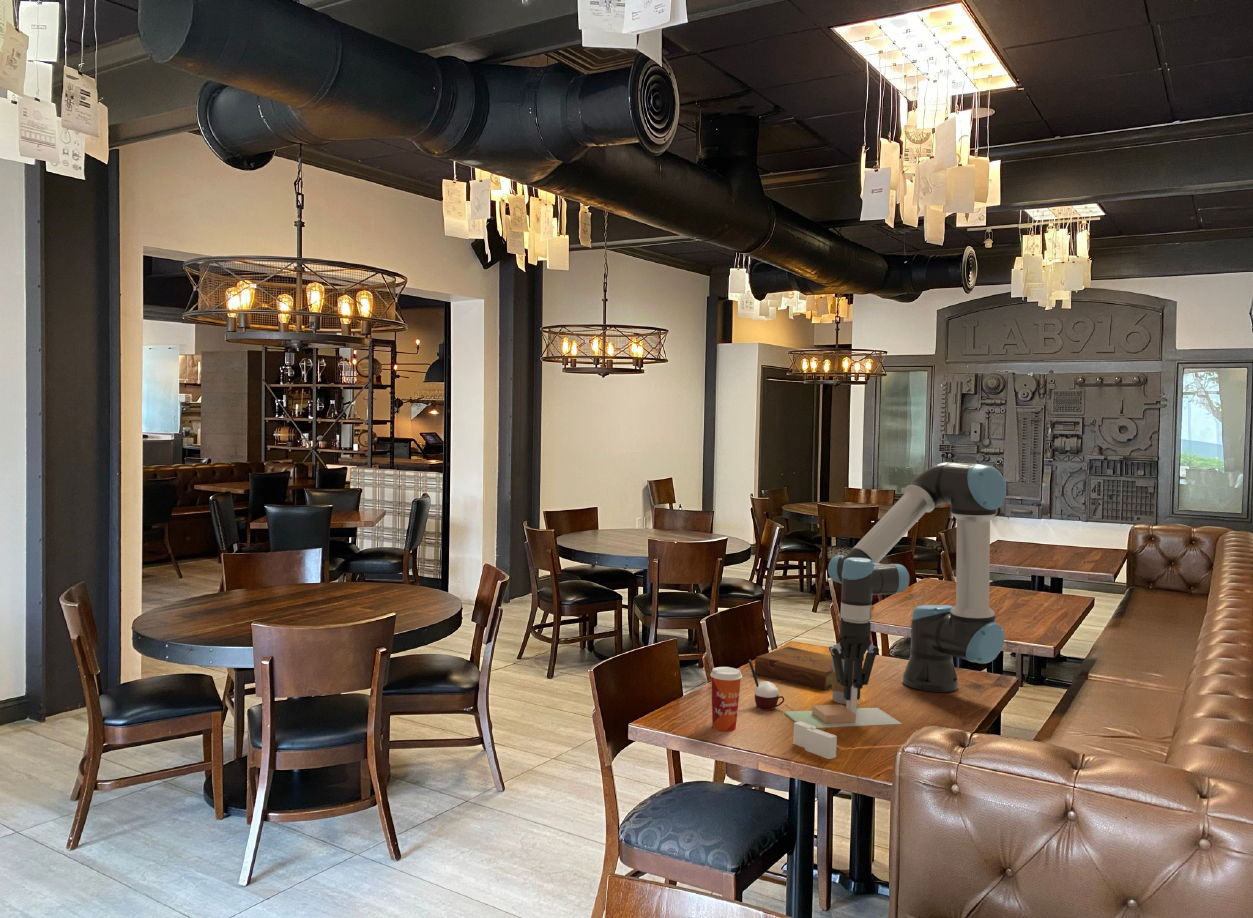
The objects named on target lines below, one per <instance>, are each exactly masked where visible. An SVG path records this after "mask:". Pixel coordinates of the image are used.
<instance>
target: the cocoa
mask: <svg viewBox="0 0 1253 918" xmlns="http://www.w3.org/2000/svg"><path fill="white" fill-rule="evenodd" d="M748 663H749V668H750V671H751V673H752V676H753V680H754V683H755V687H754V702H755V705H756V706H757V707H758V708H759V709H761V710H764V711H766V710H767V711H770V710H774V709H775V708H778V707H779V706H781V705H782V704H784V702H785V698H784V696H782V695H779V689H778V688H777V686H776V685H775V684H774V683H772V682H771V681H760V682H759V681H758V679H757V674H755V667H754V665H753V663H752V660H751V659H749V660H748ZM779 699H782V701H781V702H779ZM778 702H779V703H778Z"/></svg>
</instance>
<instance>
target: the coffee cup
mask: <svg viewBox="0 0 1253 918" xmlns="http://www.w3.org/2000/svg"><path fill="white" fill-rule="evenodd" d="M835 645H836V644H834V645H833V646H832V647H834V646H835ZM840 651H841V653H840V656H841V660H842V665H843V671H844V662H845V659H844V653H843V651H842V650H841V649H840ZM830 656H832V654H831V653H830ZM853 667H854V661H853ZM852 685H853V679H852ZM853 686H854V685H853ZM831 691H832V700H833V702H834V703H837V704H838V705H839V704H842V705H846V701H847V700H846V699H844V686H842V685H841V684H839V683H838V682H837V678H836V673H835V667H834V662H833V656H832V688H831Z"/></svg>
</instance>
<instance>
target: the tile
mask: <svg viewBox="0 0 1253 918" xmlns="http://www.w3.org/2000/svg"><path fill="white" fill-rule="evenodd" d="M811 707H812V708H811V711H812V714H814V715H815V716H816V717H818V718H819V719H820V720H822V721H823V722H824V723H846V722H855V720H856V714H855V713H853V712H852V711H850V710H849V709H847V708H846V706H844V704H839V703H838V704H820V705H819V704H818V705H817V704H816V705H815V704H814V705H812V706H811Z"/></svg>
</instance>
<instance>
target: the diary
mask: <svg viewBox="0 0 1253 918" xmlns="http://www.w3.org/2000/svg"><path fill="white" fill-rule="evenodd" d="M754 671H755V674H756V676H761V675H762V677H766V678H771V679H774V678H775V680H780V681H782V682H783V681H784V682H786V683H787V682H788V683H791V684H794V685H800V686H804V687H808V688H812V689H816V690H817V689H818V690H821V691H825V692H826V691H829V690H830V689H831V690H832V656H831V654H824V653H820V652H814V651H811V650H805V649H802V648H796V647H791V646H785V647H783V648H780V649H777V650H774V651H770V652H767V653H763V654H761V655H758V656H756V657H755V660H754Z"/></svg>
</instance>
